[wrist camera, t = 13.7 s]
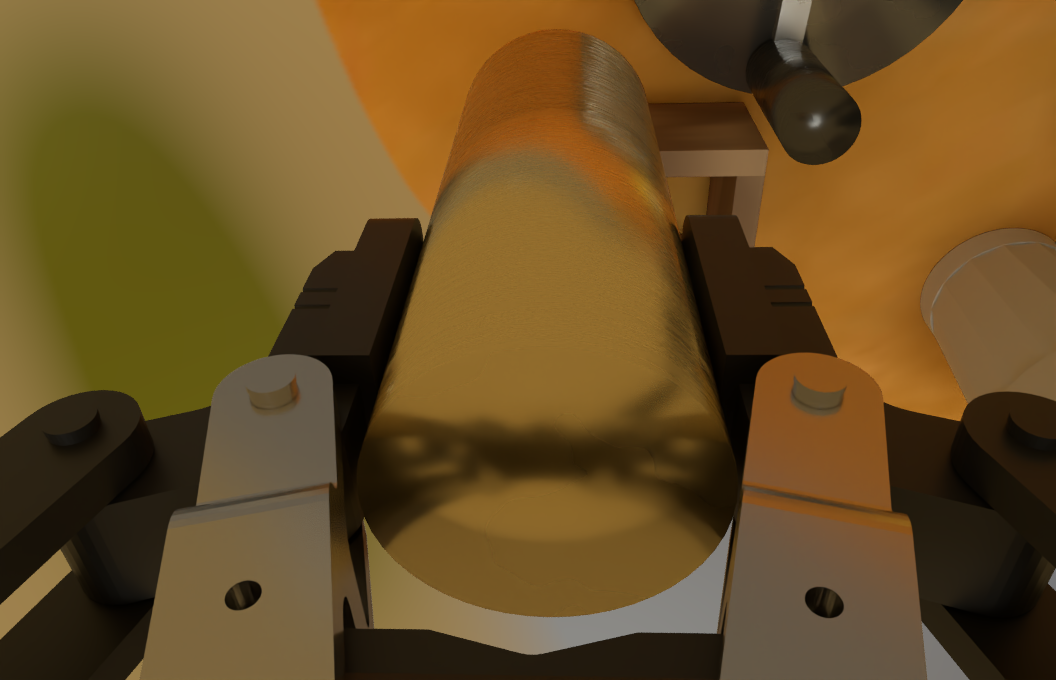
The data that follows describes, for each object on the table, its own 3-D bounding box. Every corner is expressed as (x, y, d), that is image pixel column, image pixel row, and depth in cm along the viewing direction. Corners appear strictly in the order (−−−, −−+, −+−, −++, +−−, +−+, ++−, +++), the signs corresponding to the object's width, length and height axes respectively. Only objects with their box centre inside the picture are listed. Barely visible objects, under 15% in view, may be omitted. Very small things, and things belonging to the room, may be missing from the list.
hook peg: (654, 26, 16) (763, 345, 7) (644, 207, 19) (717, 619, 10) (456, 31, 16) (325, 347, 7) (471, 209, 19) (383, 615, 10)
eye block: (743, 102, 33) (768, 149, 29) (724, 253, 37) (744, 313, 33) (571, 105, 33) (571, 152, 29) (570, 254, 37) (571, 314, 33)
